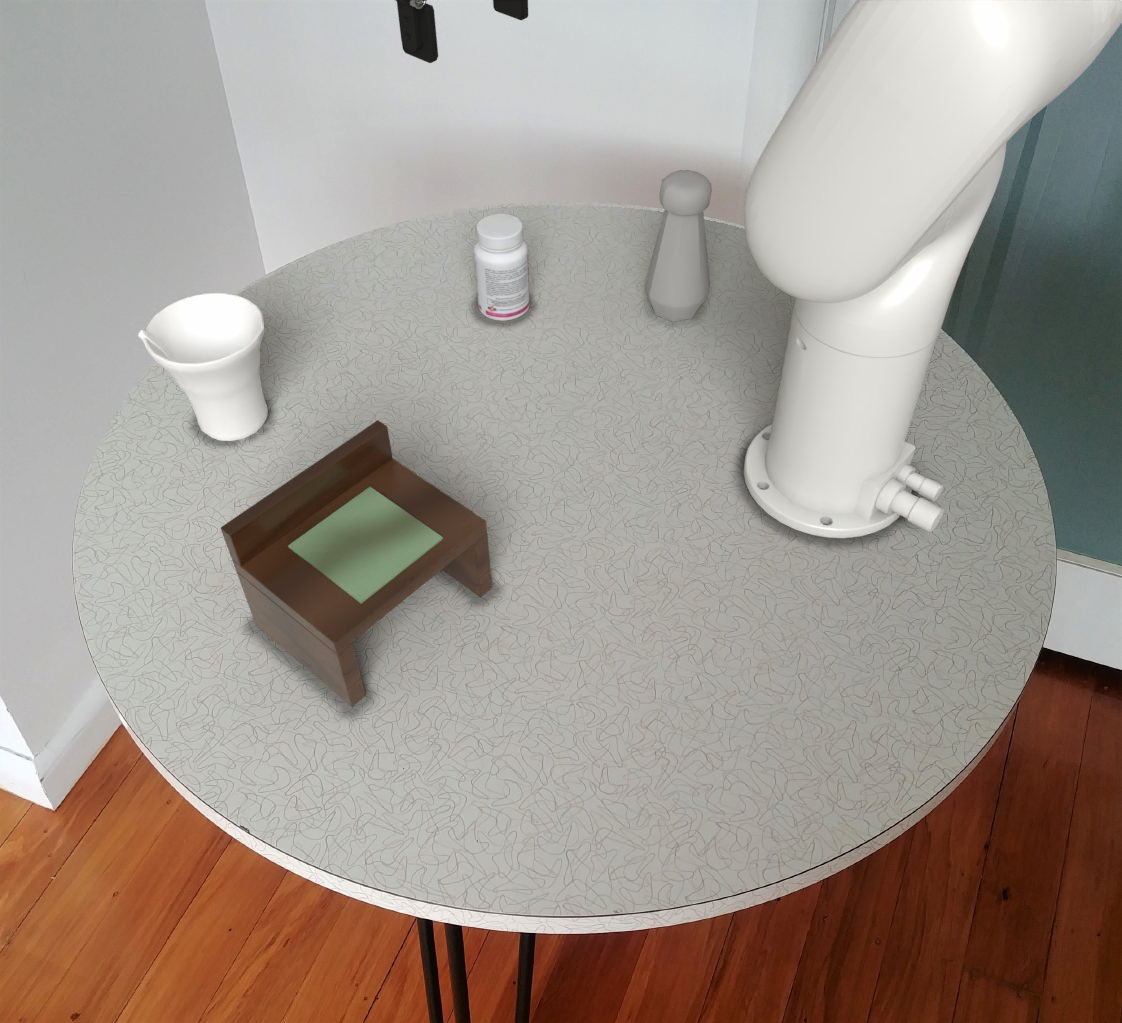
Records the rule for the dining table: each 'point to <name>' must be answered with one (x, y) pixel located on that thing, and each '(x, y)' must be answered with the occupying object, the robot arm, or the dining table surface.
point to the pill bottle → (501, 267)
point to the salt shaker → (680, 248)
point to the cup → (213, 360)
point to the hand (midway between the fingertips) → (467, 35)
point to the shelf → (349, 553)
